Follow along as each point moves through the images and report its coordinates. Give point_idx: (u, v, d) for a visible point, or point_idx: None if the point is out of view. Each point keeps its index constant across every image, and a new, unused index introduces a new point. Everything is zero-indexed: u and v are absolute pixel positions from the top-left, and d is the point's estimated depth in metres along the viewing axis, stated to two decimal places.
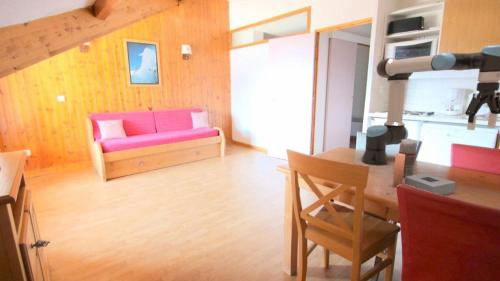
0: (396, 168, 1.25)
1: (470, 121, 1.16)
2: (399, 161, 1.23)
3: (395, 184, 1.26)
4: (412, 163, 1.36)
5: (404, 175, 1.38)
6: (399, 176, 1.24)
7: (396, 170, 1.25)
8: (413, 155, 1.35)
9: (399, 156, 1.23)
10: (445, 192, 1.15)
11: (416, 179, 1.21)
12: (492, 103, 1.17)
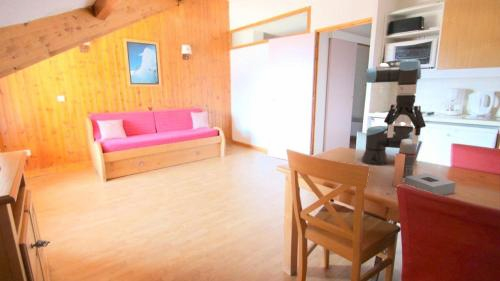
0: (396, 168, 1.25)
1: None
2: (399, 161, 1.23)
3: (395, 184, 1.26)
4: (412, 163, 1.36)
5: (404, 175, 1.38)
6: (399, 176, 1.24)
7: (396, 170, 1.25)
8: (413, 155, 1.35)
9: (399, 156, 1.23)
10: (445, 192, 1.15)
11: (416, 179, 1.21)
12: None
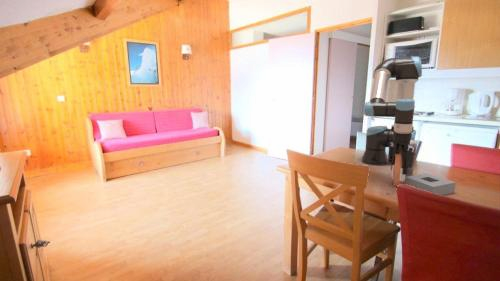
0: (396, 168, 1.25)
1: None
2: (399, 161, 1.23)
3: (395, 184, 1.26)
4: (412, 163, 1.36)
5: None
6: (399, 176, 1.24)
7: (396, 170, 1.25)
8: (413, 155, 1.35)
9: (399, 156, 1.23)
10: (445, 192, 1.15)
11: (416, 179, 1.21)
12: None
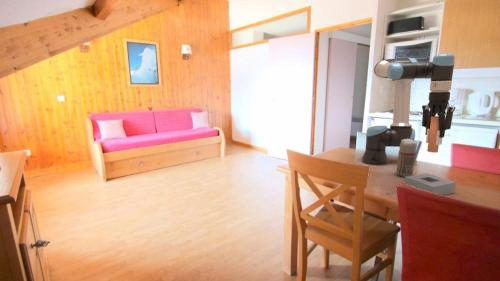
0: (432, 132, 1.15)
1: None
2: (435, 123, 1.13)
3: (430, 149, 1.16)
4: (412, 163, 1.36)
5: (404, 175, 1.38)
6: (435, 141, 1.15)
7: (432, 134, 1.15)
8: (413, 155, 1.35)
9: (436, 118, 1.13)
10: (445, 192, 1.15)
11: (416, 179, 1.21)
12: None
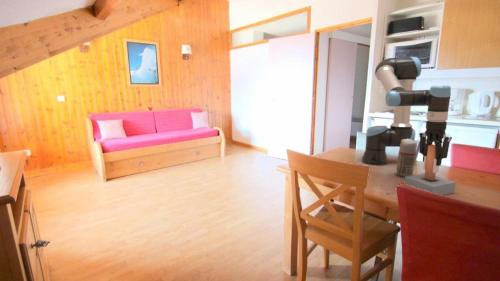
0: (429, 160, 1.18)
1: None
2: (432, 152, 1.16)
3: (427, 177, 1.19)
4: (412, 163, 1.36)
5: (404, 175, 1.38)
6: (432, 169, 1.17)
7: (429, 162, 1.18)
8: (413, 155, 1.35)
9: (432, 147, 1.16)
10: (445, 192, 1.15)
11: (416, 179, 1.21)
12: None
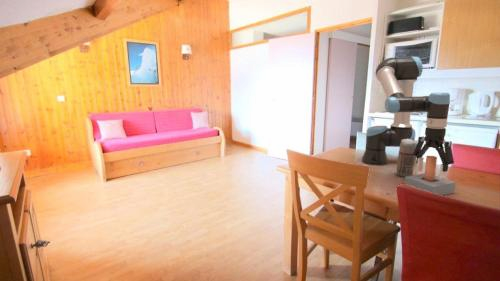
0: (427, 171, 1.19)
1: None
2: (430, 163, 1.17)
3: None
4: (412, 163, 1.36)
5: (404, 175, 1.38)
6: (430, 180, 1.19)
7: (427, 173, 1.19)
8: (413, 155, 1.35)
9: (431, 158, 1.17)
10: (445, 192, 1.15)
11: (416, 179, 1.21)
12: None
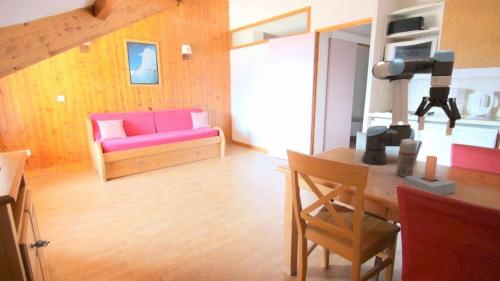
0: (427, 171, 1.19)
1: None
2: (431, 164, 1.17)
3: None
4: (412, 163, 1.36)
5: (404, 175, 1.38)
6: (430, 180, 1.19)
7: (427, 173, 1.19)
8: (413, 155, 1.35)
9: (431, 159, 1.17)
10: (445, 192, 1.15)
11: (416, 179, 1.21)
12: None
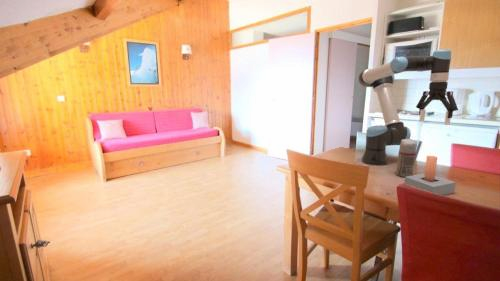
0: (427, 171, 1.19)
1: None
2: (431, 164, 1.17)
3: None
4: (412, 163, 1.36)
5: (404, 175, 1.38)
6: (430, 180, 1.19)
7: (427, 173, 1.19)
8: (413, 155, 1.35)
9: (431, 159, 1.17)
10: (445, 192, 1.15)
11: (416, 179, 1.21)
12: None
